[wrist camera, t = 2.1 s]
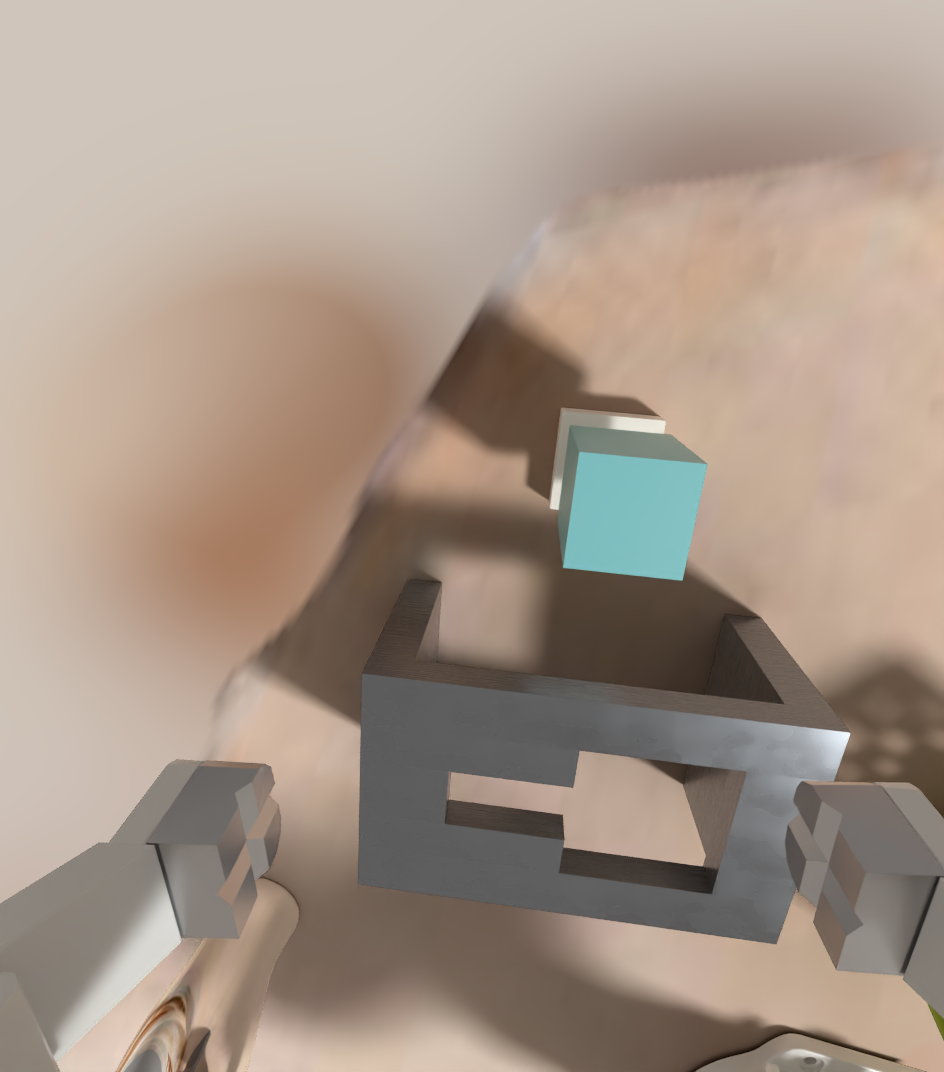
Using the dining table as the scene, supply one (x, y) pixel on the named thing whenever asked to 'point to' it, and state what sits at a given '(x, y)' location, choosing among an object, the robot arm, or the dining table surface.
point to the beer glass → (217, 996)
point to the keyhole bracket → (551, 758)
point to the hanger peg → (624, 494)
